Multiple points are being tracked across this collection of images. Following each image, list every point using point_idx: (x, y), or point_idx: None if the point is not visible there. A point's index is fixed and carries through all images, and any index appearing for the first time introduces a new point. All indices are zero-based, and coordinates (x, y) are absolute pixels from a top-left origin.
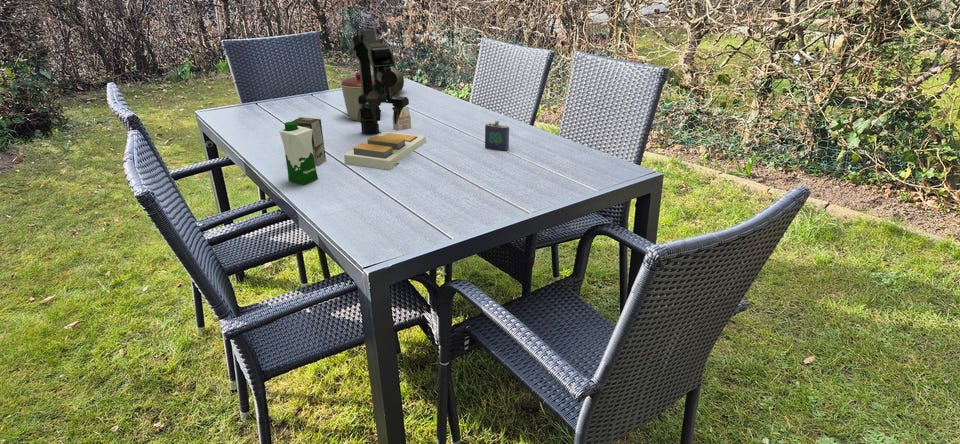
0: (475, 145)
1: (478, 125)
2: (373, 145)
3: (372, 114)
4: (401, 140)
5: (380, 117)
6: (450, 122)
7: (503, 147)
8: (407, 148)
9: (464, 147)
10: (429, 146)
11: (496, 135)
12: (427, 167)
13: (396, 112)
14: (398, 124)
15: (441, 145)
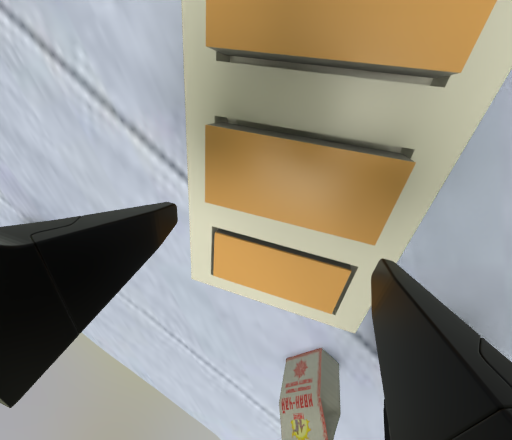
0: None
1: (160, 359)
2: (341, 35)
3: (418, 315)
4: (208, 177)
5: (384, 415)
6: (217, 383)
7: None
8: (188, 146)
9: None
10: (190, 247)
11: None
12: (92, 34)
13: (9, 230)
14: (315, 377)
15: (165, 255)
